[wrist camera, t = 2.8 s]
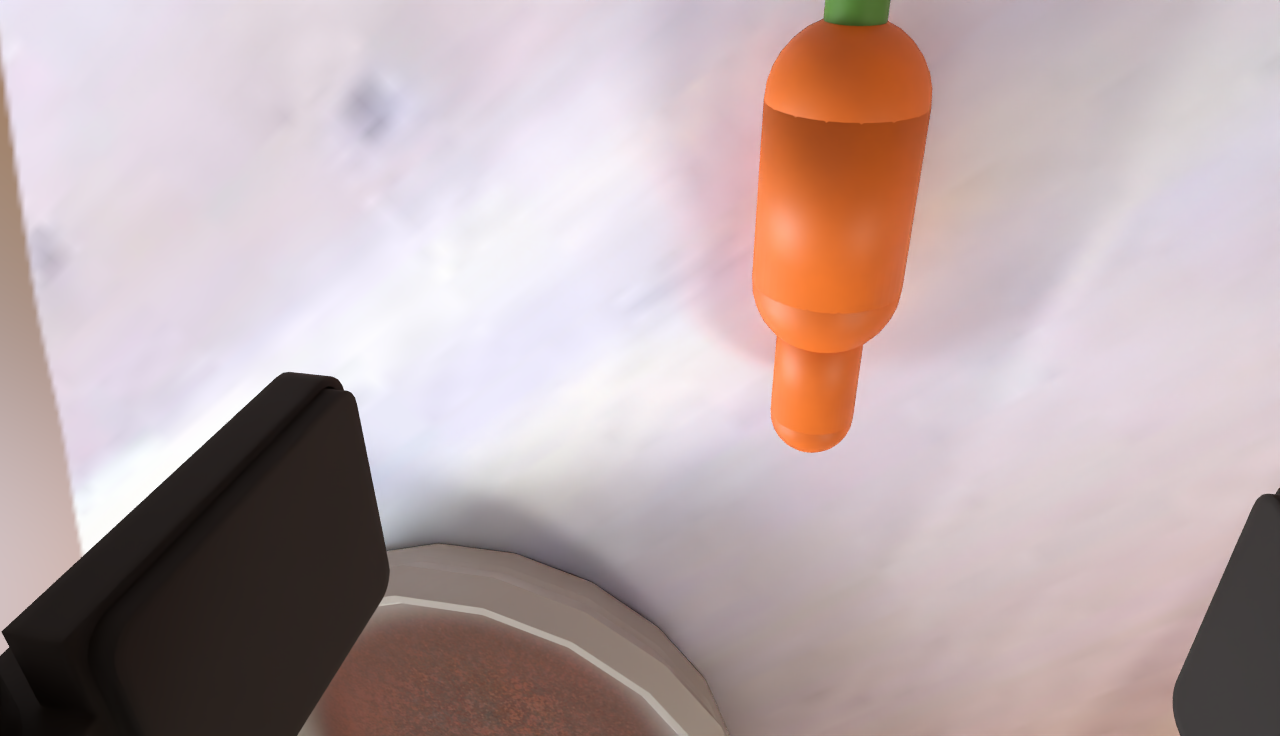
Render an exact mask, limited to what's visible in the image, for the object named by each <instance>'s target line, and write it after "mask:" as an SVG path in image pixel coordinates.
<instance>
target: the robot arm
mask: <svg viewBox="0 0 1280 736" xmlns="http://www.w3.org/2000/svg"><path fill="white" fill-rule="evenodd" d="M389 575H390V568H389V561H388V557H387V552H386V547H385V542H384V537H383V532H382V527H381V522H380V517H379V512H378V507H377V502H376V497H375V492H374V487H373V482H372V477H371V472H370V467H369V462H368V457H367V452H366V447H365V442H364V437H363V432H362V427H361V422H360V417H359V412H358V407H357V403H356V400H355V397H354V396H353V394H352V393H351V392H349V391H344V389H343V386H342V384H341V383H340V382H339V380H338V379H336V378H334V377H331V376H322V375H313V374H303V373H294V372H286V373H282V374H281V375H279V376H278V377H276V378H275V379H274V380H273V381H272V382H271V383H270V384H269V385H268V386H267V387H265V388H264V389H263V390H262V391H261V392H260V393H259V394H258V395H257V396H256V397H255V398H254V399H252V400H251V401H250V402H249V403H248V404H247V405H246V406H245V407H244V408H243V409H242V410H241V411H240V412H238V413H237V414H236V415H235V416H234V417H233V418H232V419H231V420H230V421H229V422H228V423H227V424H225V425H224V426H223V427H222V428H221V429H220V430H219V431H218V432H217V433H216V434H215V435H214V436H212V437H211V438H210V439H209V440H208V441H207V442H206V443H205V444H204V445H203V446H202V447H201V448H200V449H198V450H197V451H196V452H195V453H194V454H193V455H192V456H191V457H190V458H189V459H188V460H187V461H185V462H184V463H183V464H182V465H181V466H180V467H179V468H178V469H177V470H176V471H175V472H174V473H172V474H171V475H170V476H169V477H168V478H167V479H166V480H165V481H164V482H163V483H162V484H161V485H160V486H158V487H157V488H156V489H155V490H154V491H153V492H152V493H151V494H150V495H149V496H148V497H147V498H145V499H144V500H143V501H142V502H141V503H140V504H139V505H138V506H137V507H136V508H135V509H134V510H132V511H131V512H130V513H129V514H128V515H127V516H126V517H125V518H124V519H123V520H122V521H121V522H120V523H118V524H117V525H116V526H115V527H114V528H113V529H112V530H111V531H110V532H109V533H108V534H107V535H105V536H104V537H103V538H102V539H101V540H100V541H99V542H98V543H97V544H96V545H95V546H94V547H92V548H91V549H90V550H89V551H88V552H87V553H86V554H85V555H84V556H83V557H82V558H81V559H80V560H79V561H77V562H76V563H75V564H74V565H73V566H72V567H71V568H70V569H69V570H68V571H67V572H65V573H64V574H63V575H62V576H61V577H60V578H59V579H58V580H57V581H56V582H55V583H54V584H52V585H51V586H50V587H49V588H48V589H47V590H46V591H45V592H44V593H43V594H42V595H41V596H39V597H38V598H37V599H36V600H35V601H34V602H33V603H32V604H31V605H30V606H29V607H28V608H27V609H25V610H24V611H23V612H22V613H21V614H20V615H19V616H18V617H17V618H16V619H15V620H14V621H12V622H11V623H10V624H9V625H8V626H7V627H6V628H5V629H4V630H3V631H2V634H3V635H4V637H5V639H6V641H7V643H8V645H9V648H8V649H7V650H6V651H5V652H4V653H3V654H2V655H1V656H0V736H297V735H298V734H299V732H300V730H301V729H302V727H303V726H304V724H305V722H306V721H307V719H308V718H309V716H310V714H311V713H312V711H313V710H314V708H315V706H316V705H317V703H318V702H319V700H320V698H321V697H322V695H323V694H324V692H325V690H326V689H327V687H328V686H329V684H330V682H331V681H332V679H333V678H334V676H335V674H336V673H337V671H338V670H339V668H340V666H341V665H342V663H343V662H344V660H345V658H346V657H347V655H348V654H349V652H350V650H351V649H352V647H353V646H354V644H355V642H356V641H357V639H358V638H359V636H360V634H361V633H362V631H363V630H364V628H365V626H366V625H367V623H368V622H369V620H370V618H371V617H372V615H373V614H374V612H375V610H376V609H377V607H378V606H379V604H380V602H381V601H382V599H383V597H384V595H385V593H386V590H387V587H388V582H389ZM1173 712H1174V718H1175V721H1176V725H1177V728H1178V730H1179V733H1180V736H1280V488H1279V489H1278V491H1277V492H1276V494H1264V495H1262V496H1260V497H1259V498H1258V499H1257V500H1256V502H1255V504H1254V506H1253V508H1252V510H1251V512H1250V514H1249V517H1248V519H1247V521H1246V524H1245V526H1244V528H1243V530H1242V533H1241V535H1240V537H1239V539H1238V542H1237V544H1236V546H1235V549H1234V551H1233V553H1232V555H1231V558H1230V560H1229V562H1228V565H1227V567H1226V569H1225V571H1224V574H1223V576H1222V578H1221V581H1220V583H1219V585H1218V587H1217V590H1216V592H1215V594H1214V596H1213V599H1212V601H1211V603H1210V606H1209V608H1208V610H1207V612H1206V615H1205V617H1204V619H1203V622H1202V624H1201V626H1200V628H1199V631H1198V633H1197V635H1196V638H1195V640H1194V642H1193V644H1192V647H1191V649H1190V651H1189V654H1188V656H1187V658H1186V660H1185V663H1184V665H1183V667H1182V669H1181V672H1180V674H1179V676H1178V679H1177V681H1176V684H1175V687H1174V692H1173Z"/></svg>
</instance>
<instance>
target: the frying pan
mask: <svg viewBox="0 0 1280 736" xmlns="http://www.w3.org/2000/svg"><path fill="white" fill-rule="evenodd" d="M386 552H387V557H388V561H389V568H390V575H389V582H388V587H387V590H386V593H385V595H384V597H383V599H382V601H381V602H380V604H379V606H378V607H377V609H376V610H375V612H374V614H373V615H372V617H371V618H370V620H369V622H368V623H367V625H366V626H365V628H364V630H363V631H362V633H361V634H360V636H359V638H358V639H357V641H356V642H355V644H354V646H353V647H352V649H351V650H350V652H349V654H348V655H347V657H346V658H345V660H344V662H343V663H342V665H341V666H340V668H339V670H338V671H337V673H336V674H335V676H334V678H333V679H332V681H331V682H330V684H329V686H328V687H327V689H326V690H325V692H324V694H323V695H322V697H321V698H320V700H319V702H318V703H317V705H316V706H315V708H314V710H313V711H312V713H311V714H310V716H309V718H308V719H307V721H306V722H305V724H304V726H303V727H302V729H301V730H300V732H299V734H298V735H297V736H729V733H728V730H727V728H726V726H725V723H724V721H723V719H722V716H721V714H720V712H719V710H718V707H717V705H716V703H715V700H714V698H713V696H712V693H711V691H710V689H709V687H708V684H707V682H706V680H705V679H704V678H703V677H702V676H701V674H700V673H699V672H698V671H697V670H696V669H695V668H694V667H693V666H692V664H691V663H690V662H689V661H688V660H687V659H686V658H685V657H684V655H683V654H682V653H681V652H680V651H679V650H678V649H677V648H676V647H675V645H674V644H673V643H672V642H671V641H670V640H669V639H668V638H667V637H666V635H665V634H664V633H663V632H662V631H661V630H660V629H659V628H658V627H657V626H655V625H654V624H652V623H651V622H650V621H648V620H647V619H645V618H644V617H642V616H641V615H639V614H638V613H636V612H635V611H633V610H632V609H630V608H629V607H627V606H626V605H625V604H623V603H622V602H620V601H619V600H617V599H616V598H614V597H613V596H611V595H610V594H608V593H607V592H605V591H604V590H602V589H601V588H600V587H598V586H597V585H595V584H594V583H592V582H590V581H587V580H584V579H582V578H579V577H576V576H574V575H571V574H568V573H566V572H563V571H560V570H558V569H555V568H552V567H550V566H547V565H545V564H542V563H539V562H537V561H534V560H531V559H529V558H526V557H523V556H521V555H518V554H515V553H509V552H501V551H493V550H485V549H478V548H470V547H462V546H455V545H447V544H439V543H438V544H431V545H424V546H417V547H410V548H403V549H397V550H390V551H386Z"/></svg>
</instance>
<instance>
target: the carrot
mask: <svg viewBox="0 0 1280 736" xmlns="http://www.w3.org/2000/svg"><path fill="white" fill-rule="evenodd" d="M889 7H890V0H825V9H824V19H822V20H820V21H818V22H816V23H814V24H811V25H809V26H808V27H806V28H805V29H804V30H802V31H801V32H800V33H798V34H797V35H796V36H794V37H793V39H792V40H791V41H790V42H789V43H788V44H787V45H786V46H785V47H784V49H783V50H782V51H781V52H780V54H779V56H778V57H777V59H776V61H775V62H774V64H773V66H772V69H771V71H770V74H769V77H768V79H767V84H766V90H765V96H764V106H763V121H762V136H761V151H760V166H759V182H758V197H757V212H756V227H755V242H754V258H753V273H752V282H753V295H754V298H755V302H756V306H757V308H758V310H759V312H760V314H761V316H762V318H763V320H764V322H765V323H766V324H767V325H768V326H769V328H770V329H771V330H772V331H773V332H774V333H775V334H776V335H777V340H776V352H775V363H774V375H773V387H772V399H771V420H772V423H773V426H774V429H775V431H776V432H777V434H778V435H779V437H780V438H781V439H782V440H783V441H784V442H785V443H786V444H787V445H789V446H791V447H793V448H795V449H797V450H799V451H803V452H810V453H813V452H821V451H825V450H828V449H830V448H832V447H834V446H835V445H837V444H838V443H839V442H840V441H841V440H842V439H843V438H844V437H845V436H846V434H847V432H848V431H849V429H850V426H851V423H852V419H853V413H854V406H855V398H856V391H857V384H858V377H859V370H860V363H861V356H862V349H863V344H865V343H866V342H867V341H869V340H870V339H872V338H873V337H874V336H876V335H877V334H878V333H879V332H880V331H881V330H882V329H883V328H884V327H885V326H886V324H887V323H888V322H889V320H890V319H891V317H892V316H893V314H894V312H895V310H896V308H897V306H898V303H899V299H900V295H901V292H902V287H903V281H904V275H905V268H906V262H907V256H908V250H909V243H910V237H911V231H912V225H913V218H914V212H915V206H916V200H917V193H918V187H919V181H920V175H921V168H922V162H923V156H924V150H925V144H926V137H927V131H928V125H929V119H930V112H931V103H932V83H931V76H930V71H929V69H928V66H927V63H926V61H925V58H924V56H923V54H922V53H921V51H920V50H919V48H918V47H917V45H916V43H915V42H914V41H913V40H912V39H911V38H910V37H909V36H908V35H907V34H906V33H905V32H904V31H903V30H902V29H901V28H899V27H897V26H896V25H894V24H892V23H891V22H889V21H888V15H889Z"/></svg>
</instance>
